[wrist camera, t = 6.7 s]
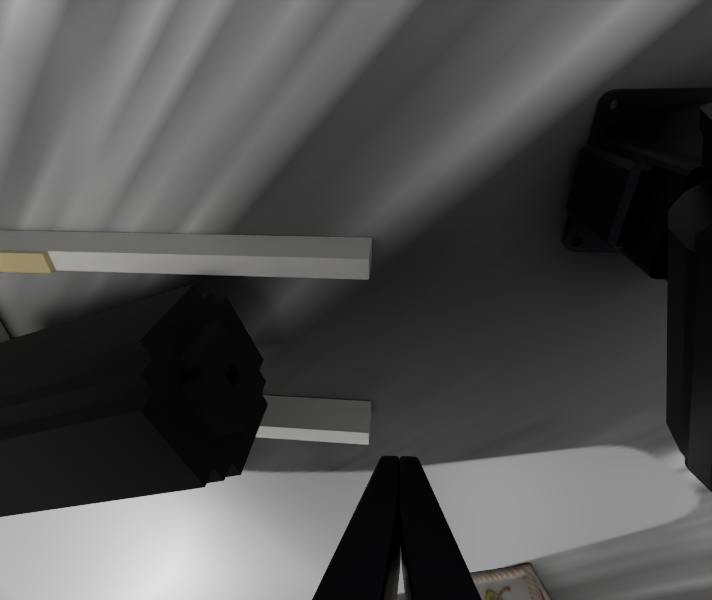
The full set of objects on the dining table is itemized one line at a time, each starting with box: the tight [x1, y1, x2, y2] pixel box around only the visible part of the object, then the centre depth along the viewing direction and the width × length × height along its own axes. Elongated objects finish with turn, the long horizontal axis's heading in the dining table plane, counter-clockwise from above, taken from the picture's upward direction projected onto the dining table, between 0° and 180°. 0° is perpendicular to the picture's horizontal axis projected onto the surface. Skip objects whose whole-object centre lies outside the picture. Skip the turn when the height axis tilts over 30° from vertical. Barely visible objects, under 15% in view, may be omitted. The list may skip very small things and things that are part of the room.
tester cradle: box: [0, 230, 372, 445], centre depth 21 cm, size 24×12×5 cm, turn 91°
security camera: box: [0, 284, 268, 517], centre depth 19 cm, size 7×18×10 cm, turn 109°
